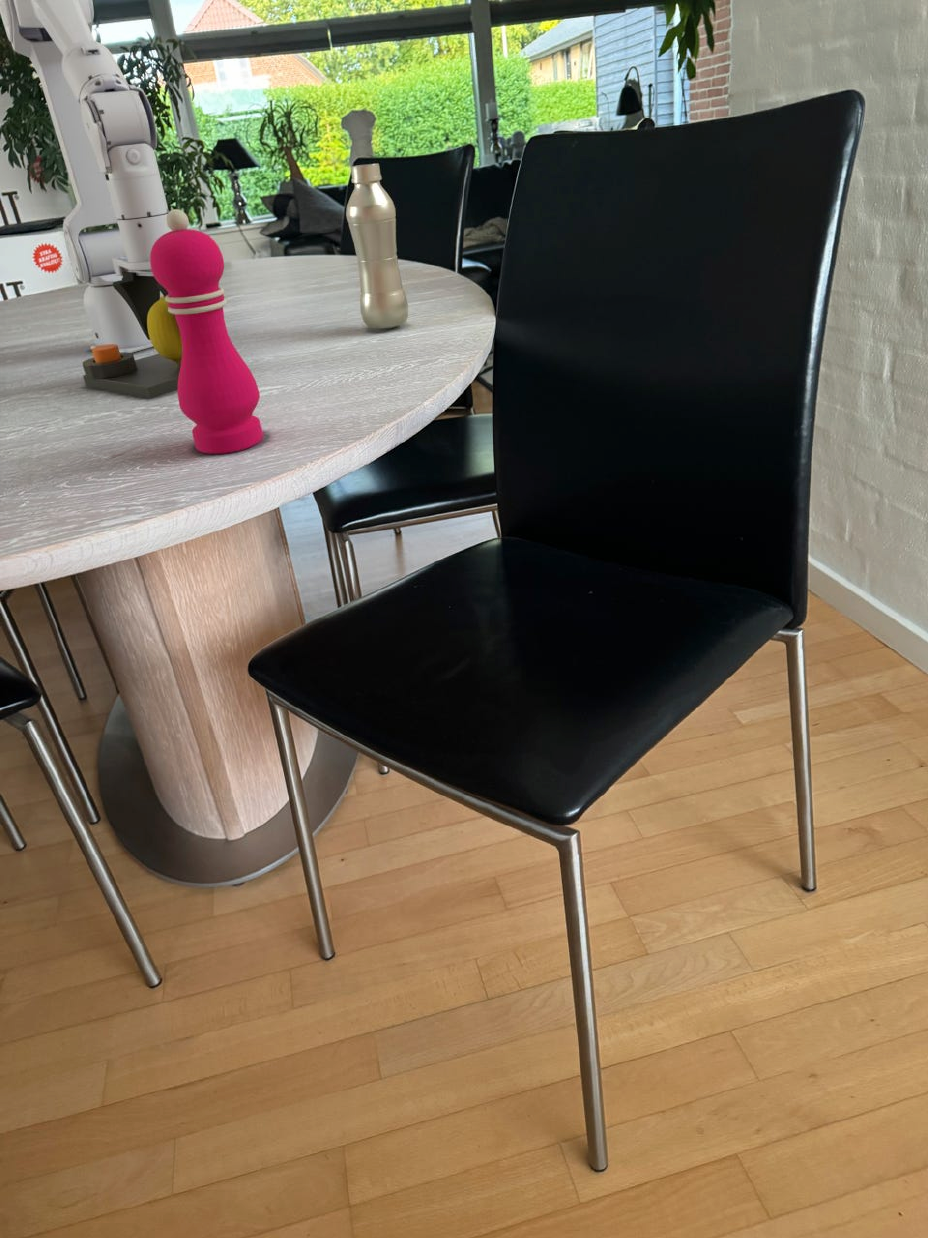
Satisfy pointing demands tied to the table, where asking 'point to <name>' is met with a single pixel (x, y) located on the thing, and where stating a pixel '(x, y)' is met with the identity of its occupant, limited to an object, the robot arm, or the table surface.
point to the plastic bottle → (376, 250)
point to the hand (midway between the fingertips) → (174, 340)
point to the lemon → (164, 331)
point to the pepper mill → (205, 341)
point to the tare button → (106, 353)
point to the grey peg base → (133, 375)
